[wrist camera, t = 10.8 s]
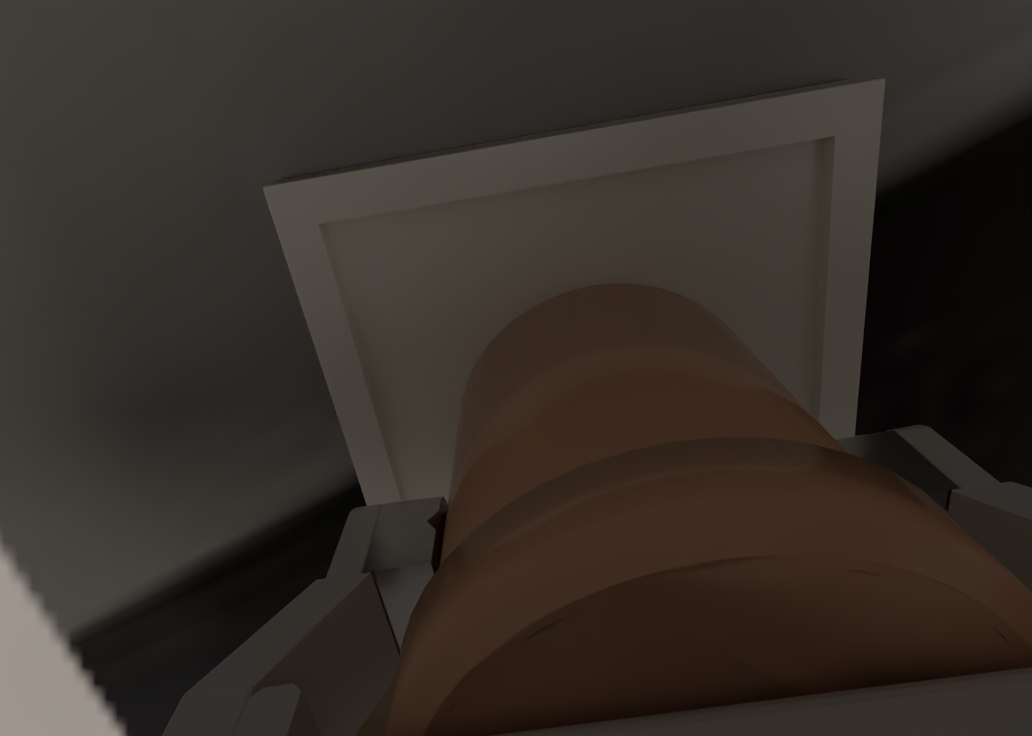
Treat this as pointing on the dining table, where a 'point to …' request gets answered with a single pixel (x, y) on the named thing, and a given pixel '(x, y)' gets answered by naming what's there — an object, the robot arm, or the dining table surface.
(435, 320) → the tray
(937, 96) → the dining table surface
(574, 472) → the sprouted pot
